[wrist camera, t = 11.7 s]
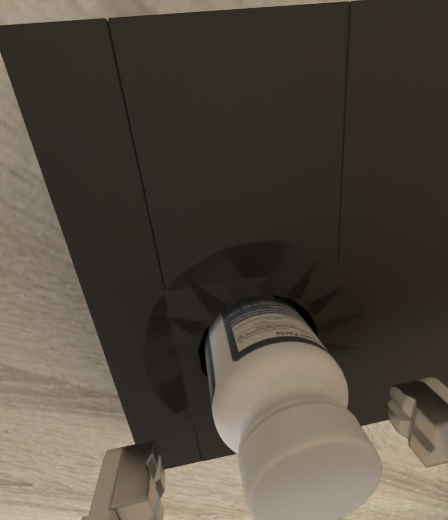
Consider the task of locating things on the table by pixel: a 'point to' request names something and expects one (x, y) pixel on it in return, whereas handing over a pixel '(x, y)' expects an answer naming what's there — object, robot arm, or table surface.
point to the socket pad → (247, 189)
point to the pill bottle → (286, 414)
